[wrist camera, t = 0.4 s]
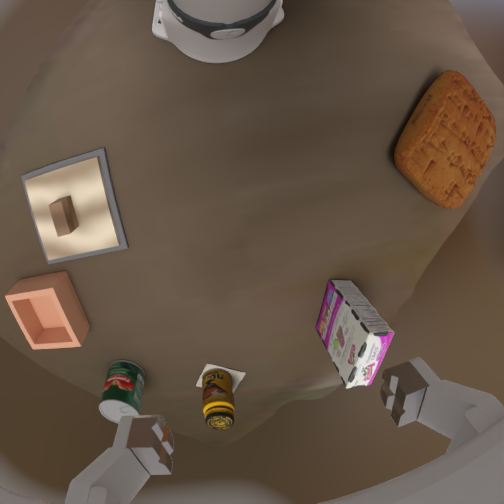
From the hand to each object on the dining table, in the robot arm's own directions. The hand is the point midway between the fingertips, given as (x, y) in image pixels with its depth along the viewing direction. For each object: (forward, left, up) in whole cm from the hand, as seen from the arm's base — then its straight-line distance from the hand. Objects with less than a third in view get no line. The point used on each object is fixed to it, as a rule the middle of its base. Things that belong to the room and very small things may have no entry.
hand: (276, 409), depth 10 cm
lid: (-1, -24, -37) cm, 45 cm away
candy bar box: (+25, +17, -38) cm, 49 cm away
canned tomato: (+34, -26, -38) cm, 58 cm away
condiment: (+39, -7, -38) cm, 55 cm away
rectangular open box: (+15, -35, -38) cm, 54 cm away
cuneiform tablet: (-5, +38, -38) cm, 54 cm away
